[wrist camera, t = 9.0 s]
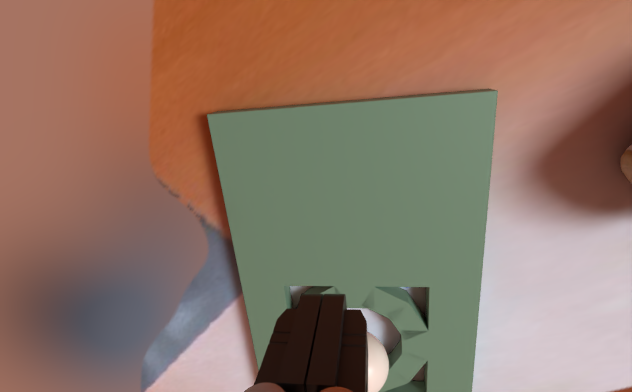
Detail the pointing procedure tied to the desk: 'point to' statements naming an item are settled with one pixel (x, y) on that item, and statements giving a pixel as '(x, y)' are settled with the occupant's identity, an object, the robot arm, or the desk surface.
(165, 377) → the desk surface
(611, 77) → the desk surface
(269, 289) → the putting board
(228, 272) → the desk surface
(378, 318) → the desk surface
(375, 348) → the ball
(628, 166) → the ceramic mug
